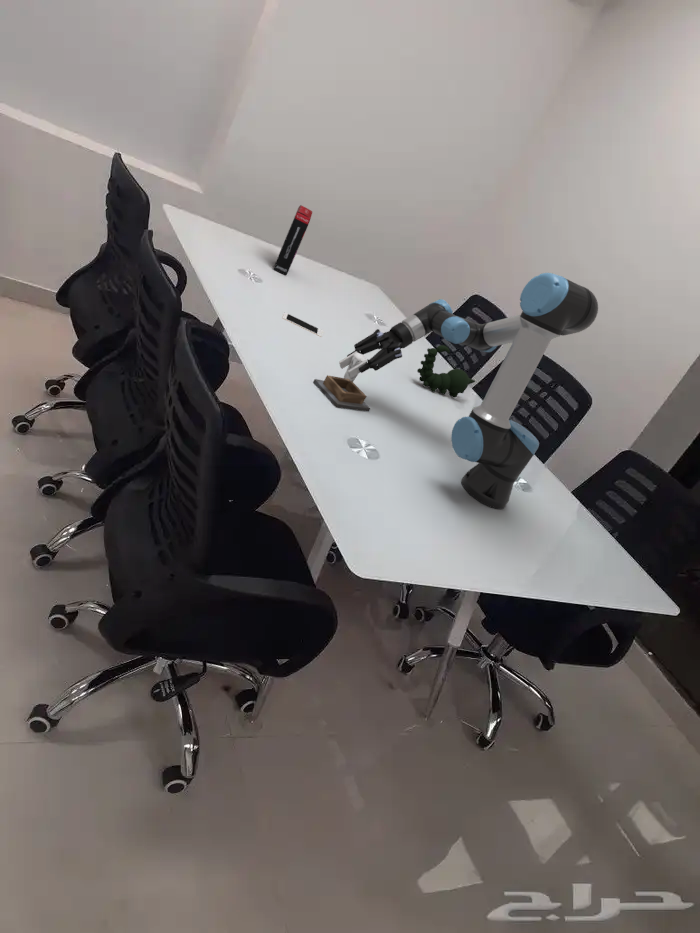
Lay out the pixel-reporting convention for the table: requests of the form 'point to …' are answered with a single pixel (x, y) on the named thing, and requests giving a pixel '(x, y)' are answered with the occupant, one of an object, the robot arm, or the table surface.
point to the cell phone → (302, 324)
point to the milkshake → (354, 362)
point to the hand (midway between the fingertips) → (344, 369)
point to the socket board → (342, 393)
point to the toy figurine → (442, 375)
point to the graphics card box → (293, 240)
